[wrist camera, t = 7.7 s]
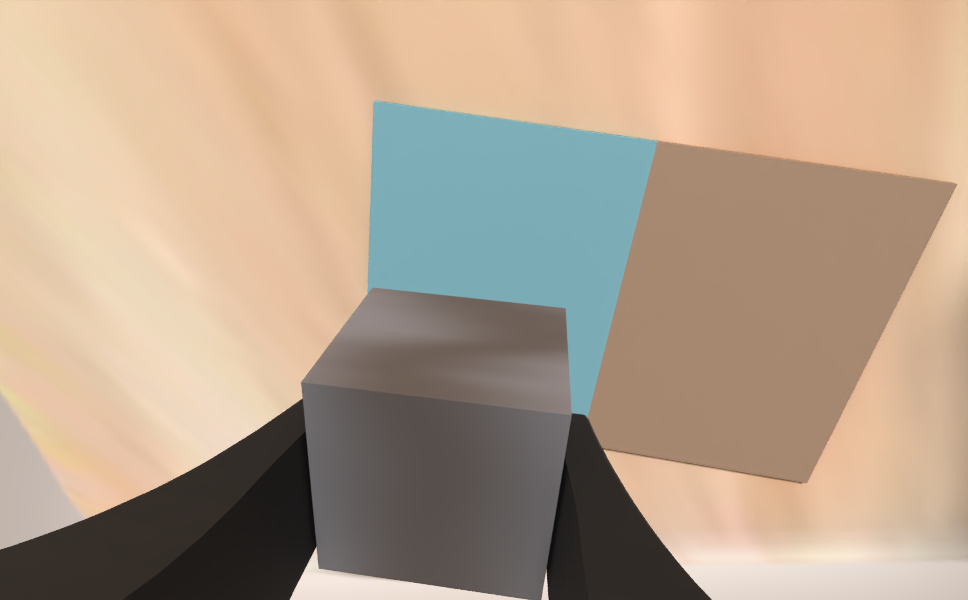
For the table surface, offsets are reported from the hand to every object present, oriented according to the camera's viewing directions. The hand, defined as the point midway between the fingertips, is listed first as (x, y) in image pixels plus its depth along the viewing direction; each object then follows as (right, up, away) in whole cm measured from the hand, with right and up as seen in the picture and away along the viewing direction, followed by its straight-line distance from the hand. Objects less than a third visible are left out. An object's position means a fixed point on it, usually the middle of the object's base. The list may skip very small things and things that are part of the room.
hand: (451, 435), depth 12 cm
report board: (+5, +3, +7) cm, 10 cm away
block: (0, +1, +1) cm, 2 cm away
